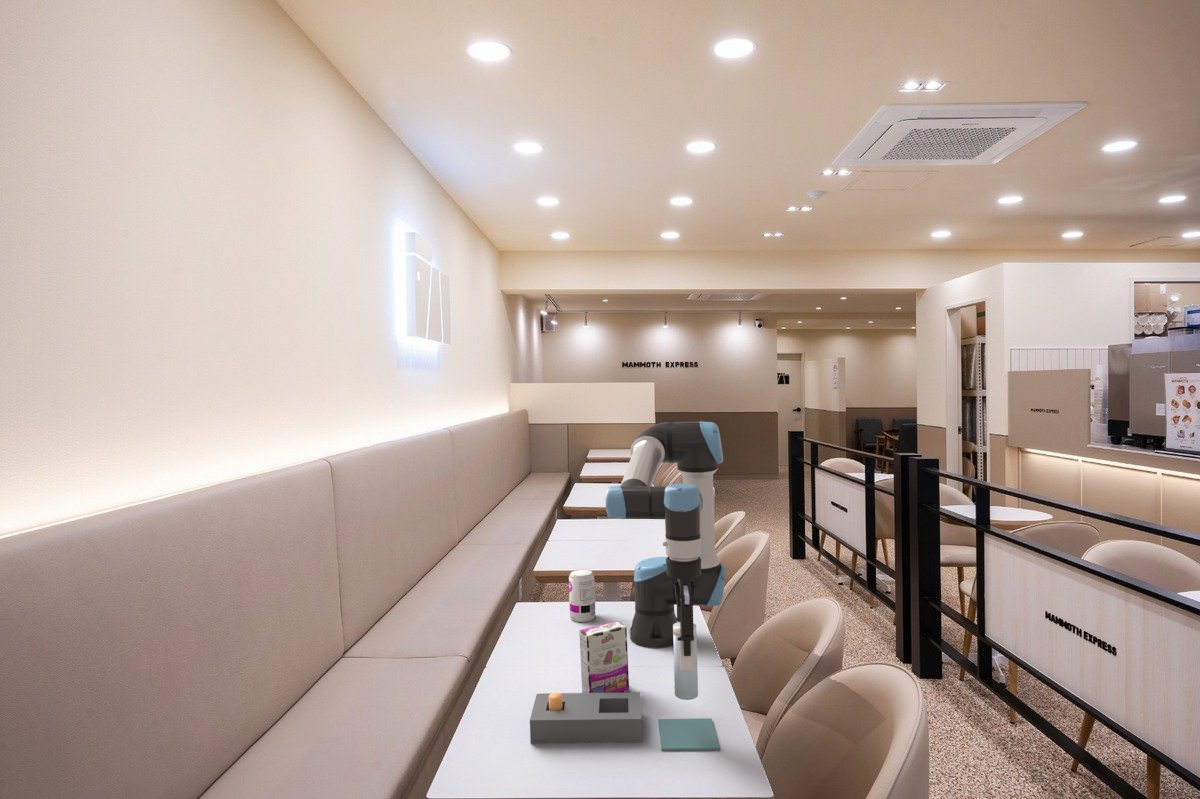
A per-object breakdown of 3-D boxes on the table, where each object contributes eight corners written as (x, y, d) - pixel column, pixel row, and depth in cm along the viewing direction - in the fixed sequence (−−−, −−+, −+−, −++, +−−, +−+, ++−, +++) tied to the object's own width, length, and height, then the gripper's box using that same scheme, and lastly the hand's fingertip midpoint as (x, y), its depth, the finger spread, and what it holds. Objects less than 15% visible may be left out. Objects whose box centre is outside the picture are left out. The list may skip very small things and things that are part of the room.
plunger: (563, 718, 152) (562, 692, 152) (562, 725, 149) (561, 699, 149) (550, 718, 152) (549, 692, 152) (548, 725, 149) (547, 699, 149)
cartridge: (684, 686, 149) (683, 619, 149) (702, 694, 145) (701, 625, 145) (670, 694, 146) (668, 626, 145) (688, 702, 142) (686, 632, 141)
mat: (658, 721, 152) (658, 718, 152) (711, 720, 152) (711, 718, 152) (661, 750, 140) (661, 748, 140) (719, 750, 140) (719, 748, 140)
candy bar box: (619, 683, 171) (618, 620, 171) (629, 691, 167) (628, 626, 166) (580, 694, 166) (578, 628, 165) (589, 702, 162) (587, 635, 161)
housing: (640, 713, 156) (640, 692, 156) (642, 741, 144) (641, 718, 144) (537, 714, 157) (536, 693, 156) (530, 743, 145) (529, 720, 145)
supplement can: (567, 622, 214) (566, 576, 214) (573, 613, 222) (571, 568, 222) (592, 623, 213) (591, 576, 212) (597, 614, 221) (596, 568, 220)
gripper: (663, 546, 154) (665, 647, 154) (668, 569, 136) (671, 682, 136) (696, 545, 153) (698, 646, 154) (706, 568, 135) (708, 682, 136)
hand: (685, 663), depth 145 cm, fingers closed on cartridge, 5 cm apart
